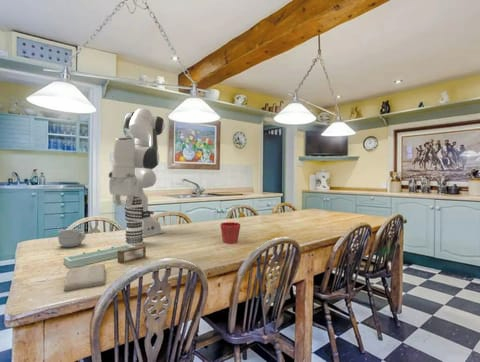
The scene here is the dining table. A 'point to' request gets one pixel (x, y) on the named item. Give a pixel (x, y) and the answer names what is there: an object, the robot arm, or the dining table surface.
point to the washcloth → (85, 277)
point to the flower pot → (230, 232)
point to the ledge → (93, 256)
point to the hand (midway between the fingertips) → (123, 206)
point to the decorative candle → (134, 222)
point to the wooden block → (131, 254)
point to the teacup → (71, 237)
